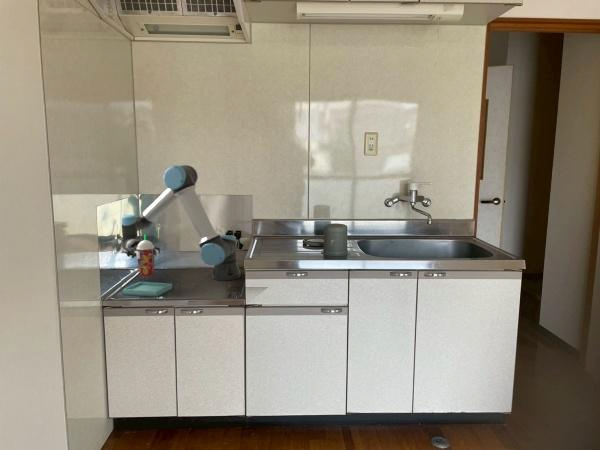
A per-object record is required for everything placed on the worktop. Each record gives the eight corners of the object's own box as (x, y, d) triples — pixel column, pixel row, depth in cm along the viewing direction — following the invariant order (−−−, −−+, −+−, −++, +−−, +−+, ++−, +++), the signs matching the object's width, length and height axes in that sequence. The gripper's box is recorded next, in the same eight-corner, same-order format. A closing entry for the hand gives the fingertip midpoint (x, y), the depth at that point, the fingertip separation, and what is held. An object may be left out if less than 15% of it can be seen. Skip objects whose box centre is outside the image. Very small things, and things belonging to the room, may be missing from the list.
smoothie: (159, 273, 224) (157, 233, 221) (150, 277, 216) (148, 236, 213) (143, 272, 225) (141, 232, 223) (134, 277, 217) (132, 235, 214)
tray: (172, 288, 226) (171, 283, 226) (156, 296, 213) (156, 291, 212) (140, 286, 231) (140, 281, 231) (123, 294, 217) (122, 289, 217)
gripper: (156, 252, 240) (170, 259, 222) (114, 257, 228) (126, 265, 210) (155, 238, 239) (170, 244, 221) (113, 242, 227) (125, 249, 209)
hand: (148, 254), depth 215 cm, fingers closed on smoothie, 8 cm apart
